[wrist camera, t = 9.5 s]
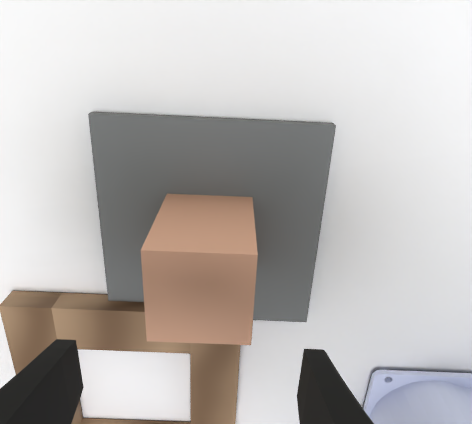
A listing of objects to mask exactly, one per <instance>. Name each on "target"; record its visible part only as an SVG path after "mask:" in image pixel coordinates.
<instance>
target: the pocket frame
mask: <svg viewBox="0 0 472 424" xmlns="http://www.w3.org/2000/svg"><path fill="white" fill-rule="evenodd" d="M0 313H1V317H2V321H3V325H4V329H5V333H6V337H7V341H8V345H9V349H10V353H11V357H12V361H13V365H14V369H15V373H16V375H17V374H18V373H19V372H20V371H21V370H22V369H24V368H25V367H26V366H27V365H28V364H29V363H30V362H31V361H32V360H34V359H35V358H36V357H37V356H38V355H39V354H40V353H41V352H42V351H44V350H45V349H46V348H47V347H48V346H49V345H50V344H51V343H53V342H54V341H55V340H56V339H66V340H76V344H77V349H88V350H114V351H140V352H166V353H191V422H177V421H149V420H122V419H94V418H83V416H82V410H81V404H80V400H79V403H78V406H77V409H76V412H75V415H74V418H73V420H72V423H71V424H235V419H236V403H237V388H238V372H239V357H240V345H232V344H205V343H177V342H149V341H147V338H146V323H145V308H144V302H127V301H108V295H106V294H82V293H57V292H33V291H12V292H11V293H10V294H9V295H8V297H7V298H6V299H5V300H4V301H3V302H2V303H1V304H0Z"/></svg>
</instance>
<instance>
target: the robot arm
mask: <svg viewBox="0 0 472 424" xmlns="http://www.w3.org/2000/svg"><path fill="white" fill-rule="evenodd" d="M387 377H388V378H387ZM82 390H83V382H82V376H81V369H80V363H79V357H78V350H77V344H76V340H66V339H56V340H55V341H54V342H53V343H51V344H50V345H49V346H48V347H47V348H46V349H45V350H44V351H42V352H41V353H40V354H39V355H38V356H37V357H36V358H35V359H34V360H32V361H31V362H30V363H29V364H28V365H27V366H26V367H25V368H24V369H22V370H21V371H20V372H19V373H18V374H17V375H16V376H15V377H13V378H12V379H11V380H10V381H9V382H8V383H7V384H5V385H4V386H3V387H2V388H1V389H0V424H71V423H72V420H73V418H74V415H75V412H76V409H77V406H78V403H79V400H80V397H81V393H82ZM297 400H298V410H299V420H300V424H472V373H451V372H425V371H399V370H377V371H375V372H373V374H372V376H371V380H370V384H369V388H368V392H367V396H366V400H365V404H364V408H362V407H361V405H360V404H359V402H358V401H357V400H356V398H355V397H354V395H353V394H352V393H351V391H350V390H349V388H348V387H347V385H346V384H345V382H344V381H343V379H342V378H341V376H340V374H339V373H338V371H337V370H336V368H335V367H334V365H333V363H332V362H331V360H330V358H329V357H328V355H327V353H326V352H325V351H324V350H318V349H304V353H303V360H302V367H301V373H300V380H299V386H298V393H297Z"/></svg>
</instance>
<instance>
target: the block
mask: <svg viewBox="0 0 472 424" xmlns="http://www.w3.org/2000/svg"><path fill="white" fill-rule="evenodd" d="M257 258H258V252H257V241H256V230H255V220H254V209H253V198H252V197H237V196H213V195H188V194H167V195H166V197H165V199H164V201H163V203H162V205H161V208H160V210H159V212H158V214H157V216H156V218H155V220H154V223H153V225H152V227H151V229H150V231H149V233H148V236H147V238H146V240H145V242H144V244H143V246H142V248H141V263H142V278H143V293H144V308H145V323H146V338H147V341H149V342H177V343H205V344H232V345H251V339H252V325H253V312H254V298H255V285H256V271H257Z"/></svg>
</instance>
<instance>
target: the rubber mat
mask: <svg viewBox="0 0 472 424" xmlns="http://www.w3.org/2000/svg"><path fill="white" fill-rule="evenodd" d="M88 115H89V124H90V133H91V143H92V152H93V161H94V171H95V180H96V189H97V199H98V208H99V217H100V226H101V236H102V245H103V254H104V264H105V273H106V282H107V292H108V301H127V302H144V293H143V278H142V263H141V248H142V246H143V244H144V242H145V240H146V238H147V236H148V233H149V231H150V229H151V227H152V225H153V223H154V220H155V218H156V216H157V214H158V212H159V210H160V208H161V205H162V203H163V201H164V199H165V197H166V195H167V194H188V195H213V196H237V197H252V198H253V209H254V220H255V230H256V241H257V252H258V258H257V271H256V285H255V298H254V312H253V320H267V321H292V322H306V321H307V314H308V308H309V301H310V294H311V288H312V281H313V274H314V268H315V261H316V254H317V248H318V241H319V234H320V228H321V221H322V214H323V208H324V201H325V194H326V188H327V181H328V174H329V168H330V161H331V154H332V148H333V141H334V134H335V127H336V125H334V124H333V123H318V122H297V121H276V120H255V119H233V118H212V117H191V116H170V115H149V114H128V113H107V112H91V113H89V114H88Z"/></svg>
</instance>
